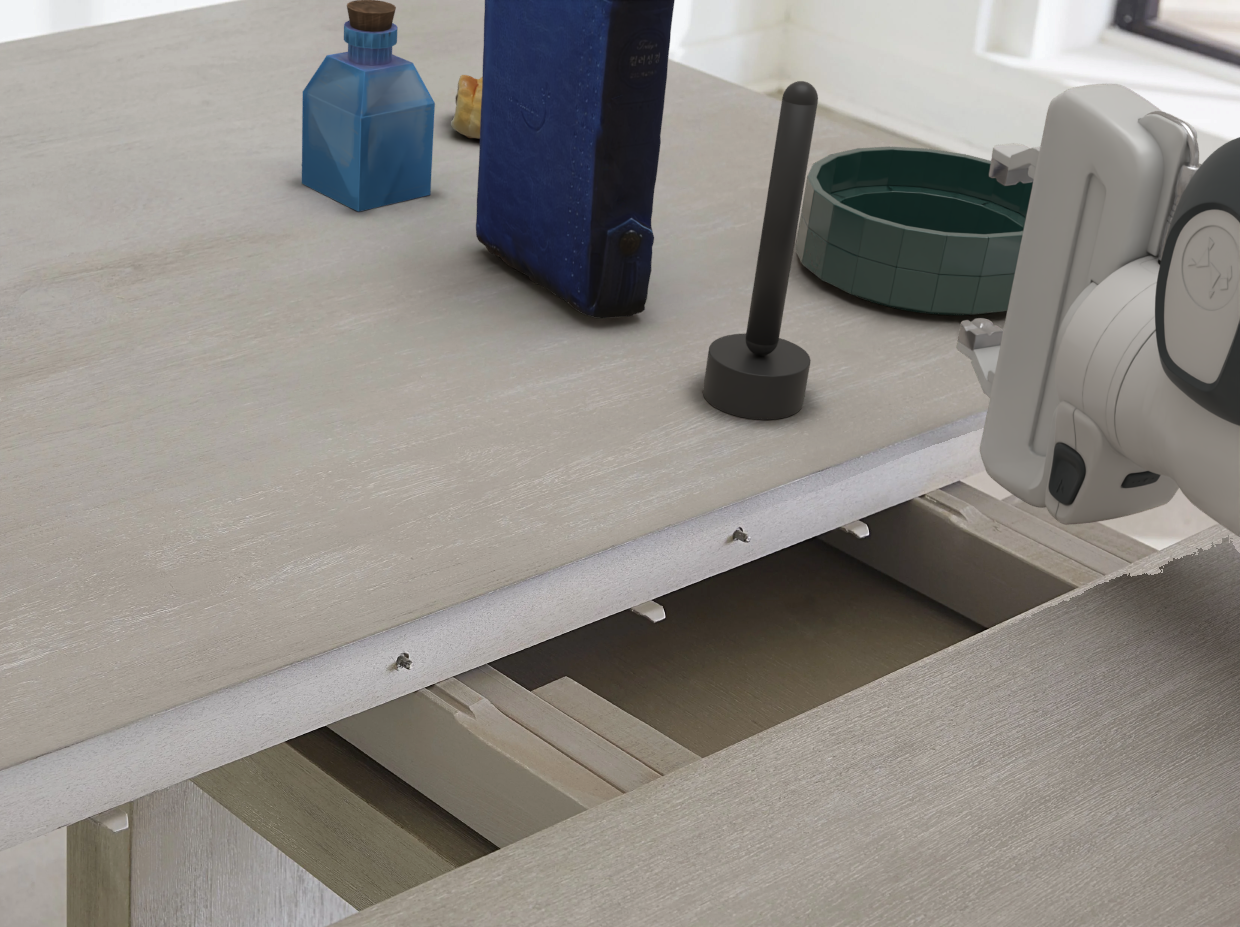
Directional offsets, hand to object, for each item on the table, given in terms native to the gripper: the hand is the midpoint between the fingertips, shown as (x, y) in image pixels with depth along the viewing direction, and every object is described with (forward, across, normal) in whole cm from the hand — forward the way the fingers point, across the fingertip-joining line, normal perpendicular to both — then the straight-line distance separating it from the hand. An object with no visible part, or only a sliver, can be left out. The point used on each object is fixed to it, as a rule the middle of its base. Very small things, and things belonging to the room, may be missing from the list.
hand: (984, 247), depth 99 cm
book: (+23, +10, -14) cm, 29 cm away
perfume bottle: (+42, +10, -20) cm, 47 cm away
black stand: (+6, +10, -9) cm, 15 cm away
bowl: (+20, +11, +11) cm, 25 cm away
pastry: (+51, +10, -5) cm, 53 cm away
